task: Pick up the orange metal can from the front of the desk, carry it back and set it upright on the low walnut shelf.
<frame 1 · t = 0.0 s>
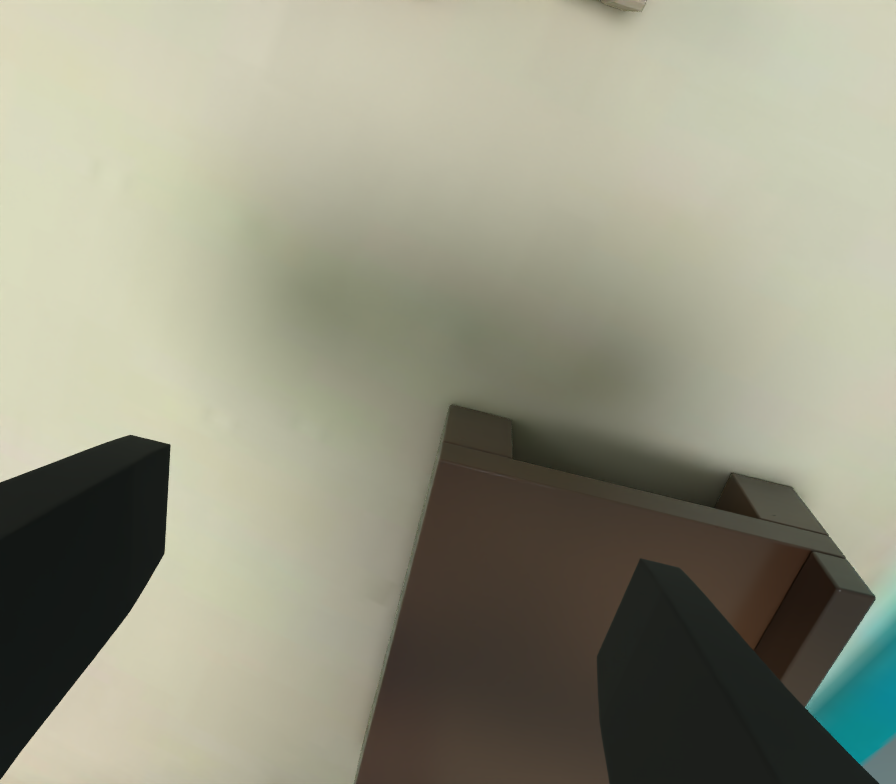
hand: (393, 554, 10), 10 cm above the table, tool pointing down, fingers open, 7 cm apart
shelf: (548, 634, 23), on the table
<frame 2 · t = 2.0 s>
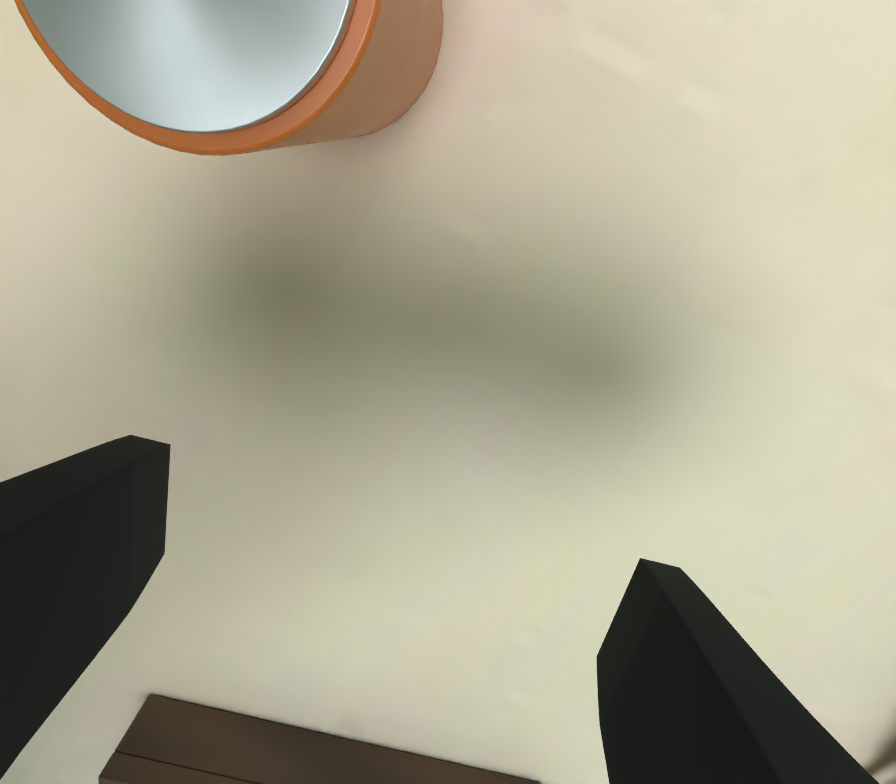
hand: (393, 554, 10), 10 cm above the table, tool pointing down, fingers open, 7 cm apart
can: (335, 21, 15), on the table
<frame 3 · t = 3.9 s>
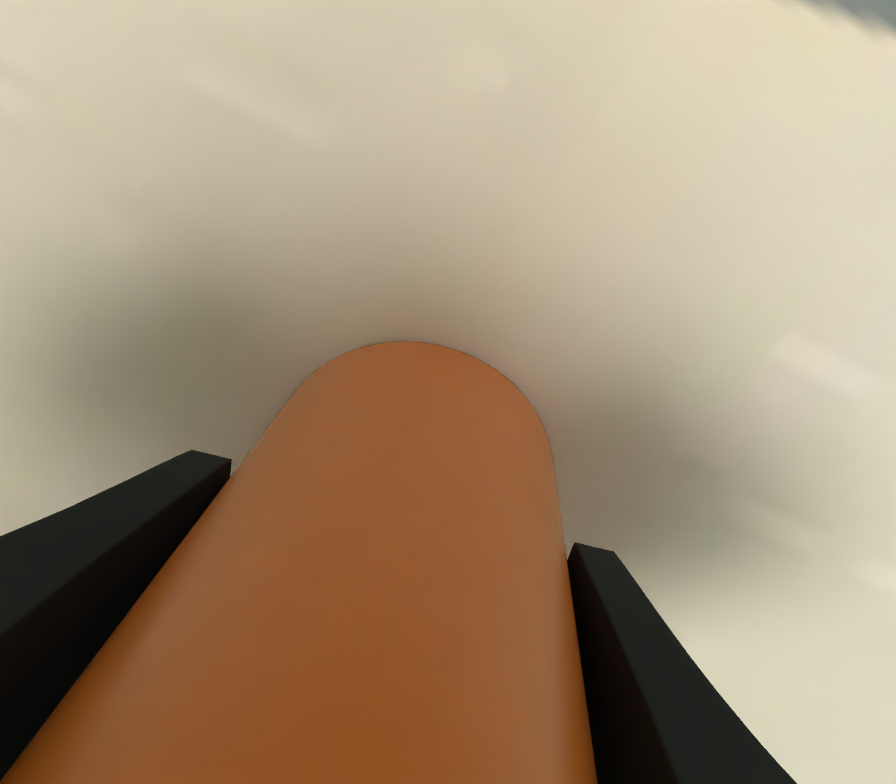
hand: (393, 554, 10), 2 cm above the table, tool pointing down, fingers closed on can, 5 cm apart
can: (412, 472, 12), on the table, touching gripper
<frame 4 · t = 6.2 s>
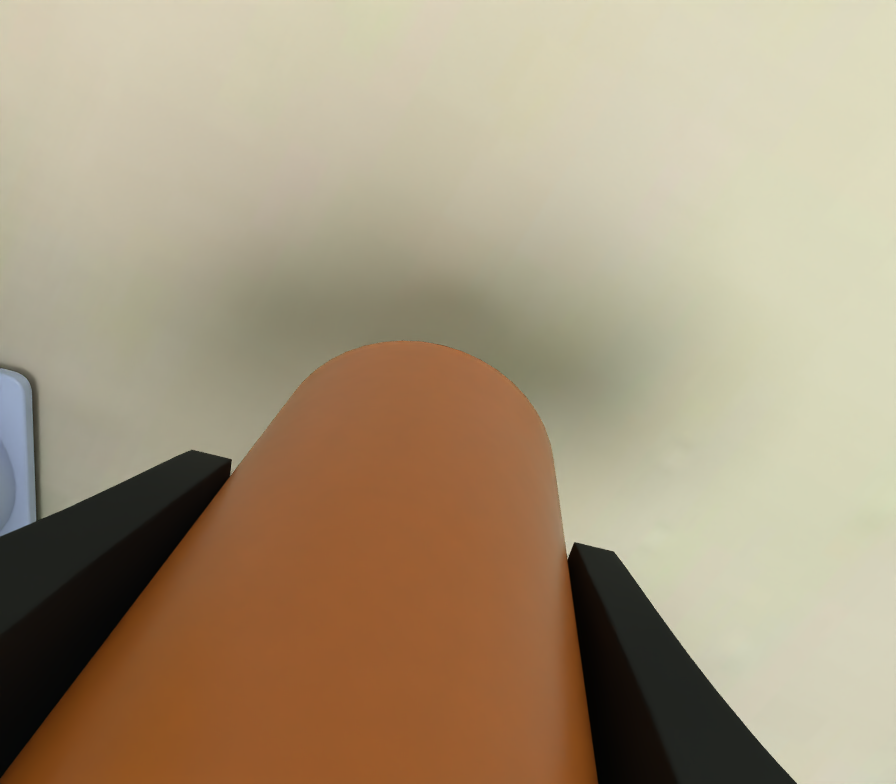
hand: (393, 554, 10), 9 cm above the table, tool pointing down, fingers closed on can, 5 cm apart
can: (412, 471, 12), point 7 cm above the table, touching gripper
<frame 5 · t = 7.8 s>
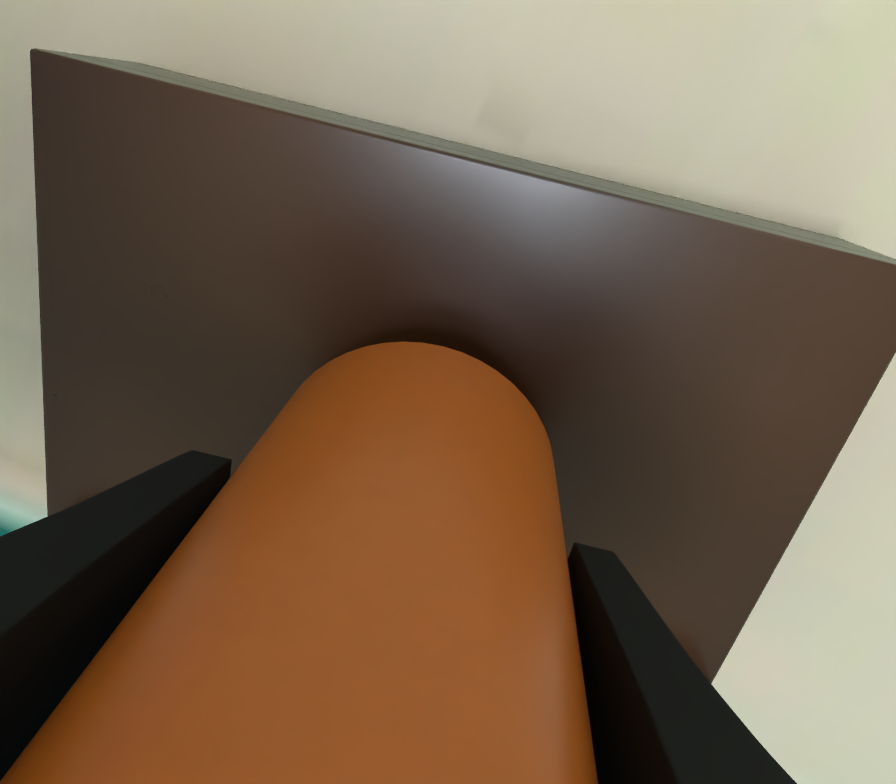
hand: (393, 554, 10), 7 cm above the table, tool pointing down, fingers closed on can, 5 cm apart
shelf: (438, 375, 16), on the table
can: (412, 472, 12), point 5 cm above the table, touching gripper
when the fingers open (6 cm above the table, at t = 8.8 s): can stays where it is, resting on shelf.
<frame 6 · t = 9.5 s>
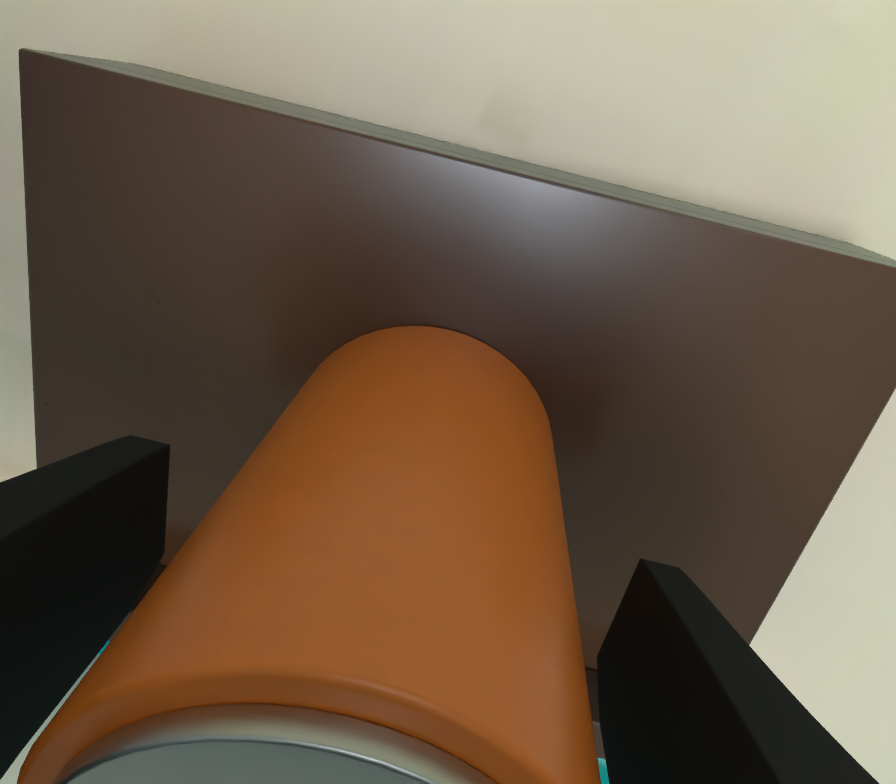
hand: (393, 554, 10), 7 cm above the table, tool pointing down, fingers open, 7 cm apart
shelf: (439, 382, 16), on the table
can: (421, 449, 13), point 3 cm above the table, touching shelf
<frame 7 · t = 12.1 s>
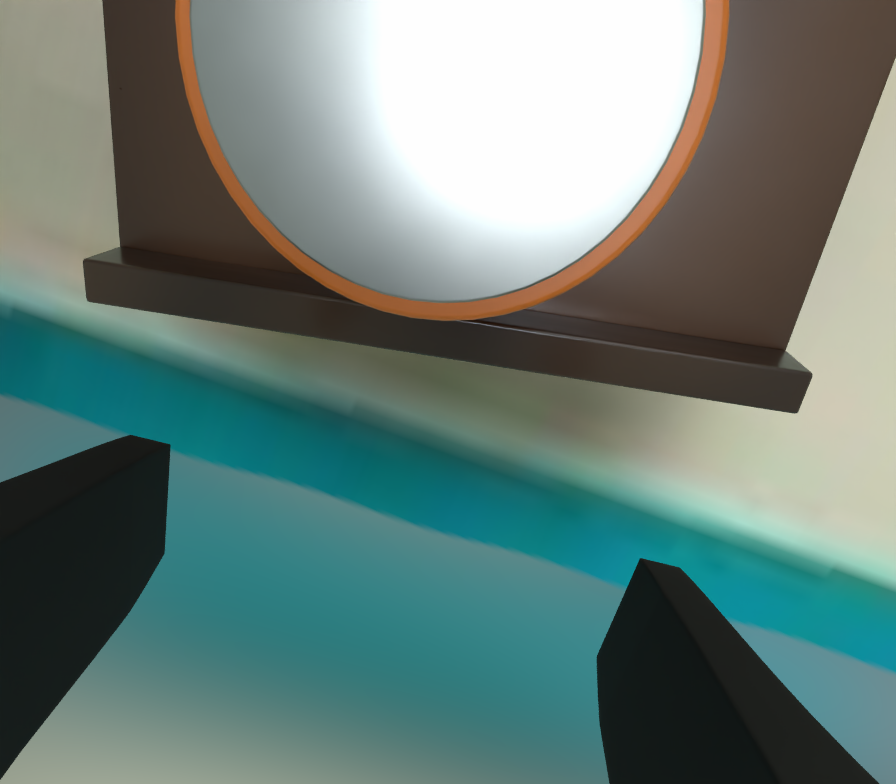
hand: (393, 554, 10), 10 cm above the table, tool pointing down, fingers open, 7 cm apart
shelf: (484, 93, 17), on the table
can: (477, 88, 13), point 3 cm above the table, touching shelf
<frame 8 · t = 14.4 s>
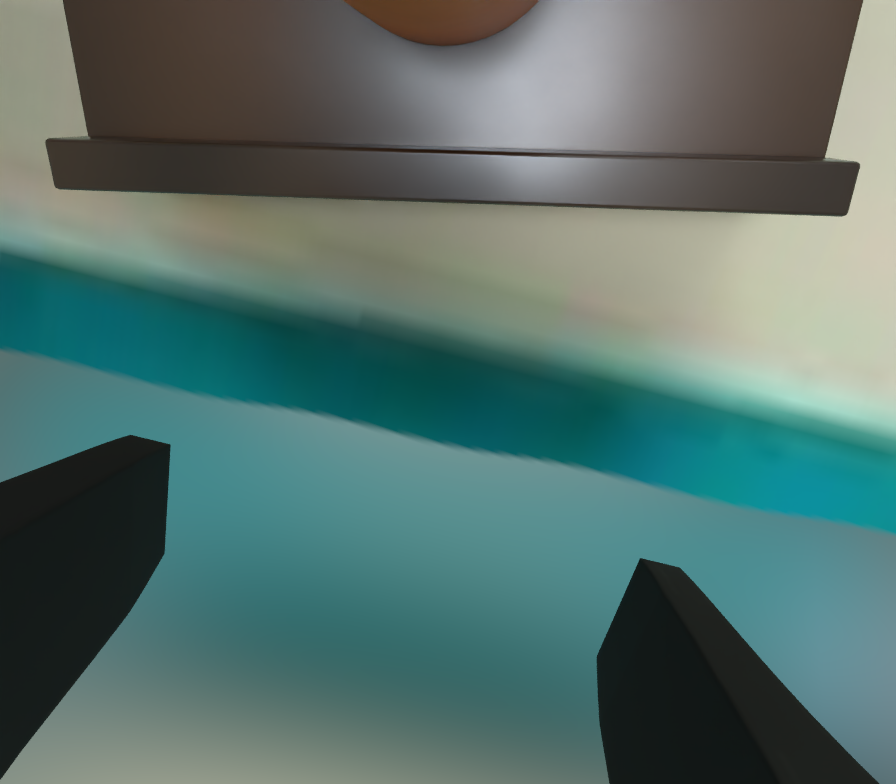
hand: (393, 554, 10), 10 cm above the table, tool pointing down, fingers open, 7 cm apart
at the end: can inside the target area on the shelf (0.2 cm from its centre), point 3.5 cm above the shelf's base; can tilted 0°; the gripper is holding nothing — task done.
